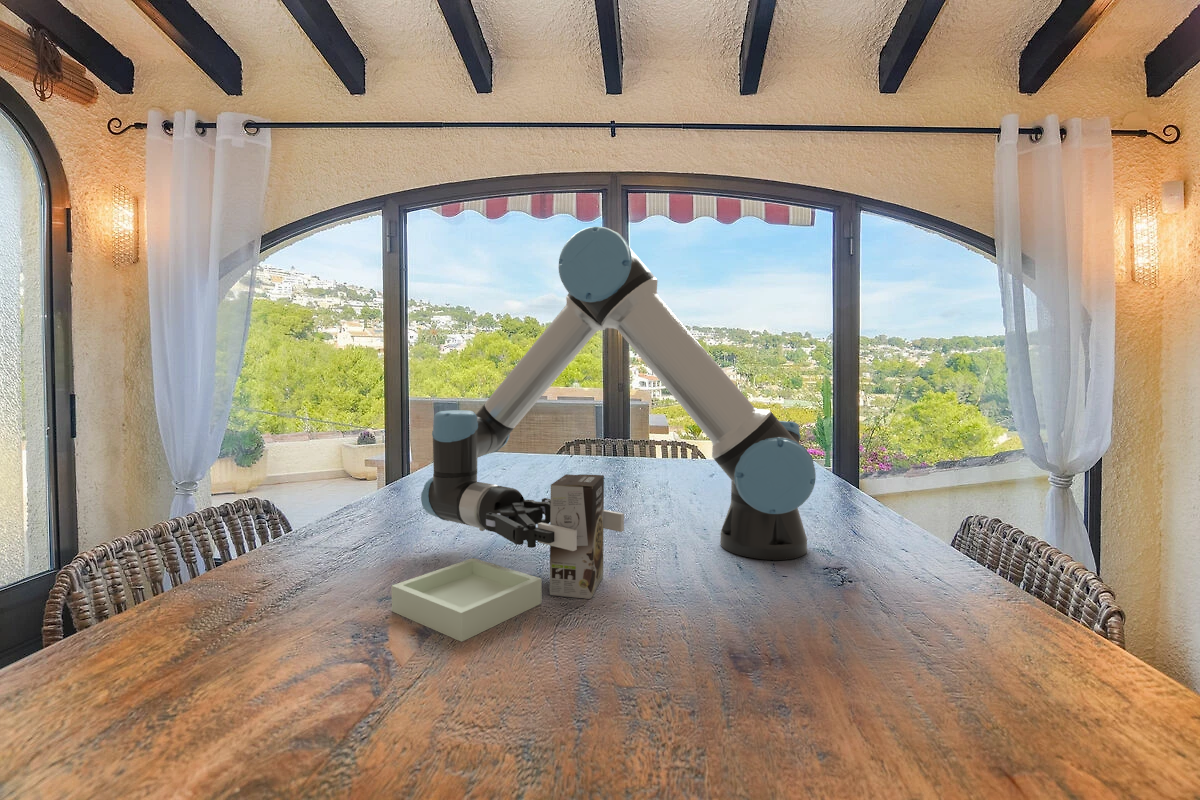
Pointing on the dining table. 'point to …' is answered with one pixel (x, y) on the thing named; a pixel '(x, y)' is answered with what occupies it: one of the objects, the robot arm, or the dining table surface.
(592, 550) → the coffee box
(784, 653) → the dining table surface
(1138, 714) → the dining table surface
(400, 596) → the tray
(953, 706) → the dining table surface
